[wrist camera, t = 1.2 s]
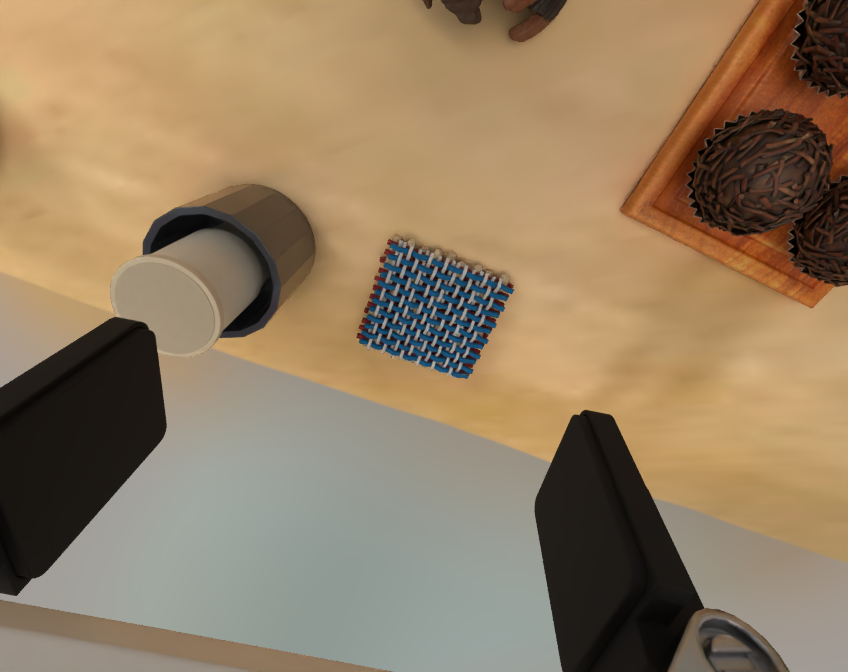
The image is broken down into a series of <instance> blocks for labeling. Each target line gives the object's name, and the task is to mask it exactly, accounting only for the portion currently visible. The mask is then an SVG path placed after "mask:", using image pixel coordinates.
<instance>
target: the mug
mask: <svg viewBox="0 0 848 672" xmlns="http://www.w3.org/2000/svg"><path fill="white" fill-rule="evenodd" d="M225 221H227V222H230V223H231V224H232V225H234V226H235V227H236V228H238V229H239V230H240V231H242V232H243V233H244V234H246V235H247V236H248V237H249V238H251V239H252V240H253V241H254V243H255V244H256V246H257V247H258V249H259V250H260V252H261V253H262V255H263V256H264V257H265V259H266V260H267V262H268V265H269V269H270V273H271V278H270V279H269V280H268V281H267V282H266V283H265V284H264V285H263V286H262V287H261V290H260V293H259V294H258V296H257V297H256V298H255V300H254V301H253V302H252V303H250V304H249V305H248V306H247V307H246V308H245V309H244V310H243V311H242V312H241V313H240V314H239V315H238V316H237V317H236V318H235V319H234V320H233V321H232V322H231V323H230V324H229V325H228V326H227V327H226V328H225V329H224V330H223V331H222V333H221V335H220V337H219V338H234V337H245V336H247V335H249V334H251V333H253V332H255V331H258V330H260V329H262V328H263V327H265V326H266V324H267V323H268V322H269V321H270V320H271V319H272V317H273V316H274V315H275V314H276V313H277V312H278V310H279V309H280V308H281V307H282V306H283V305H284V303H285V302H286V301H287V300H288V299H289V298H290V296H291V295H292V294H293V293H294V292H295V291H296V290H297V288H298V287H299V286H300V285H301V283H302V282H303V281H304V280H305V278H306V277H307V276H308V274H309V273H310V271H311V268H312V266H313V263H314V258H315V241H314V236H313V232H312V230H311V227H310V225H309V223H308V221H307V219H306V217H305V216H304V214H303V213H302V212H301V210H300V209H299V208H298V207H297V206H296V205H295V204H294V203H293V202H292V201H291V200H290V199H289V198H287V197H286V196H284V195H283V194H281V193H280V192H278V191H276V190H274V189H271V188H269V187H265V186H262V185H256V184H243V185H237V186H231V187H228V188H225V189H223V190H220V191H218V192H215V193H212V194H210V195H207V196H205V197H202V198H199V199H197V200H194V201H192V202H189V203H187V204H184V205H181V206H179V207H176V208H174V209H172V210H171V211H169V212H167V213H166V214H164V215H163V216H161V217H159V218H158V219H156V220H155V221H154V222H153V224H152V226H151V228H150V229H149V231H148V233H147V235H146V237H145V239H144V241H143V255H147V254H152V253H154V252H156V251H158V250H160V249H162V248H164V247H166V246H168V245H170V244H172V243H174V242H176V241H178V240H180V239H182V238H184V237H186V236H188V235H190V234H192V233H194V232H196V231H198V230H201V229H207V228H214V227H216V226H218V225H220V224H222V223H224V222H225Z"/></svg>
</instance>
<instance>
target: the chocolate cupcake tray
mask: <svg viewBox="0 0 848 672" xmlns="http://www.w3.org/2000/svg"><path fill="white" fill-rule="evenodd" d="M621 212H622V213H624V214H625V215H627V216H629V217H631V218H633V219H635V220H637V221H639V222H641V223H643V224H645V225H647V226H649V227H651V228H653V229H655V230H657V231H659V232H661V233H663V234H665V235H667V236H669V237H671V238H673V239H675V240H677V241H679V242H681V243H683V244H685V245H687V246H689V247H691V248H693V249H695V250H697V251H699V252H701V253H703V254H705V255H707V256H709V257H711V258H713V259H715V260H716V261H718V262H720V263H722V264H724V265H726V266H728V267H730V268H732V269H734V270H736V271H738V272H740V273H742V274H744V275H746V276H748V277H750V278H752V279H754V280H756V281H758V282H760V283H762V284H764V285H766V286H768V287H770V288H772V289H774V290H776V291H778V292H780V293H782V294H784V295H786V296H788V297H790V298H792V299H794V300H796V301H798V302H800V303H802V304H804V305H806V306H808V307H810V308H813V307H814V306H815V305H816V304H817V303H818V302H819V301H820V300H821V299H822V298H823V297H824V296H825V295H826V294H827V293H828V292H829V291H830V290H831V289H832V288H833V287H834V286H835V287H839V286H844V285H848V0H761V1H760V2H759V4H758V5H757V7H756V8H755V10H754V11H753V13H752V14H751V16H750V17H749V19H748V20H747V22H746V23H745V25H744V26H743V28H742V29H741V31H740V32H739V34H738V35H737V37H736V38H735V40H734V41H733V43H732V44H731V46H730V47H729V49H728V50H727V52H726V53H725V55H724V56H723V58H722V59H721V61H720V62H719V64H718V65H717V67H716V68H715V70H714V71H713V73H712V74H711V76H710V77H709V79H708V80H707V82H706V83H705V85H704V86H703V88H702V89H701V91H700V92H699V94H698V95H697V97H696V98H695V100H694V101H693V103H692V104H691V106H690V107H689V109H688V110H687V112H686V113H685V115H684V116H683V118H682V119H681V121H680V122H679V124H678V125H677V127H676V128H675V130H674V131H673V133H672V134H671V136H670V137H669V139H668V140H667V142H666V143H665V145H664V146H663V148H662V149H661V151H660V152H659V154H658V155H657V157H656V158H655V160H654V161H653V163H652V164H651V166H650V167H649V169H648V170H647V172H646V173H645V175H644V176H643V178H642V179H641V181H640V182H639V184H638V185H637V187H636V188H635V190H634V191H633V193H632V194H631V196H630V197H629V199H628V200H627V202H626V203H625V205H624V206H623V208H622V209H621Z"/></svg>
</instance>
